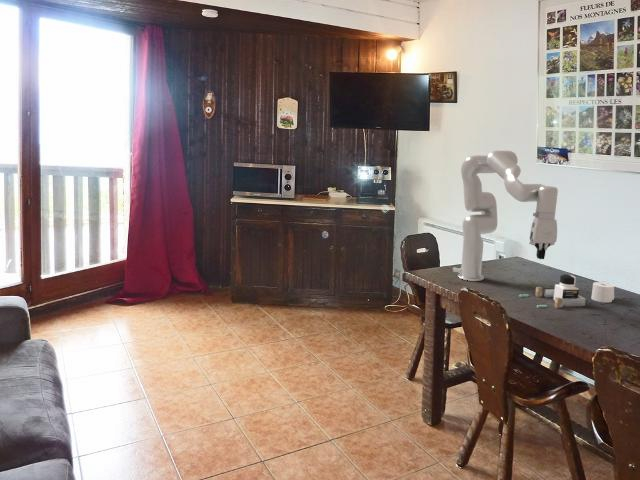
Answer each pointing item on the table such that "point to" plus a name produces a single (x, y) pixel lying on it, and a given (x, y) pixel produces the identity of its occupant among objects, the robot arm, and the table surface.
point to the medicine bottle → (566, 287)
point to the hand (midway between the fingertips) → (540, 258)
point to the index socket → (566, 299)
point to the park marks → (537, 305)
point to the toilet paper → (602, 292)
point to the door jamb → (557, 299)
